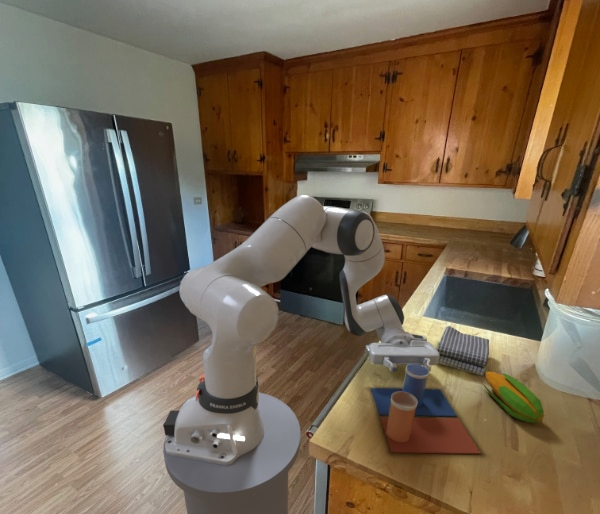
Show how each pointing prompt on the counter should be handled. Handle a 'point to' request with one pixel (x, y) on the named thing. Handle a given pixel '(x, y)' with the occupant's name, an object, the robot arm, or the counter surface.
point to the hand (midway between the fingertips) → (410, 369)
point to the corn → (515, 397)
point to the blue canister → (416, 381)
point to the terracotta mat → (434, 437)
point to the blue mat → (431, 406)
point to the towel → (463, 351)
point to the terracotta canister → (401, 416)
